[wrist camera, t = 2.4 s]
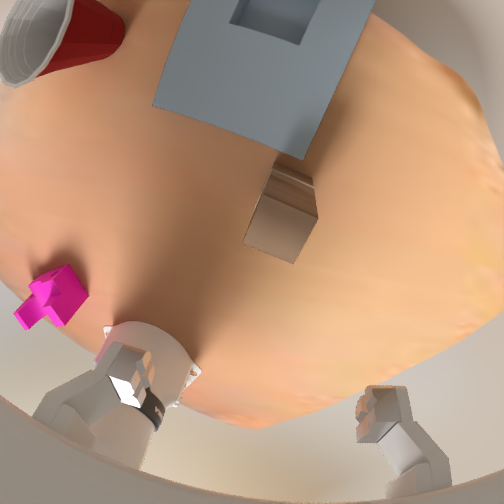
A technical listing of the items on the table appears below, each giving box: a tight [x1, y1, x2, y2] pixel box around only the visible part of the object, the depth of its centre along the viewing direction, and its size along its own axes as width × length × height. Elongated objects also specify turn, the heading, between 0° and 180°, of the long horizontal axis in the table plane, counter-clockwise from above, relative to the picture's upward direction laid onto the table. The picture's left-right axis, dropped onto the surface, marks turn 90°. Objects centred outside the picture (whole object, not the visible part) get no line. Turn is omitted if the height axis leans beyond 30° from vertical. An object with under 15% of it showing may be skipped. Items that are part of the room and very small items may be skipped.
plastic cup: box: [0, 0, 125, 88], centre depth 17 cm, size 11×11×12 cm
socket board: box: [152, 0, 376, 161], centre depth 20 cm, size 18×14×4 cm
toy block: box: [14, 264, 89, 330], centre depth 40 cm, size 15×6×8 cm, turn 110°
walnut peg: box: [243, 162, 318, 264], centre depth 25 cm, size 4×4×10 cm
